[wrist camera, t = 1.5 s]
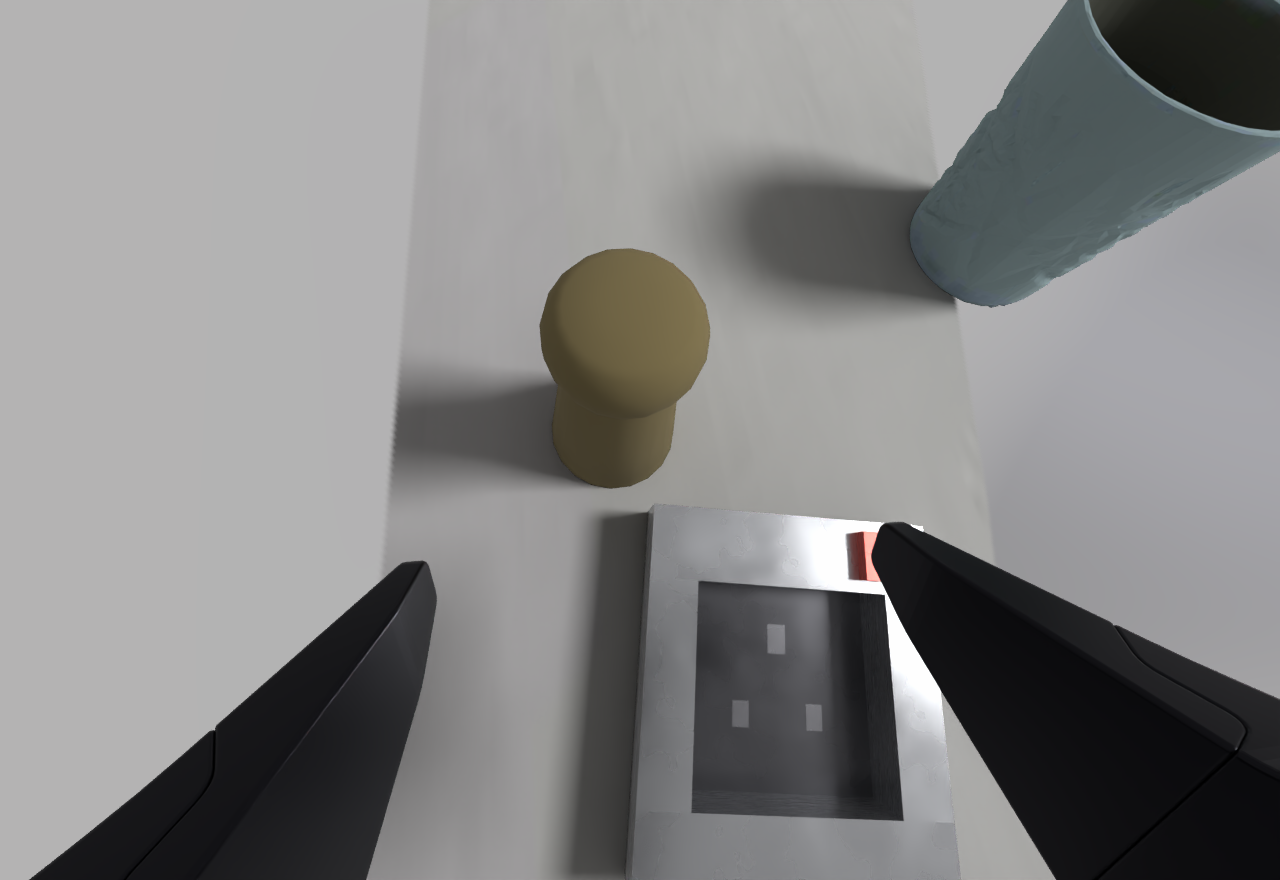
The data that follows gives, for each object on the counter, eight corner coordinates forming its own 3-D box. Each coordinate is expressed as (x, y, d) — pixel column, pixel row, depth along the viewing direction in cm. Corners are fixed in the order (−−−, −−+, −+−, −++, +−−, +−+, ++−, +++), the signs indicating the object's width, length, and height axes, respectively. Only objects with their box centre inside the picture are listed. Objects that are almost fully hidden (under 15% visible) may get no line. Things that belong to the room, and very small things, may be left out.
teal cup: (1077, 301, 29) (1400, 114, 17) (937, 335, 27) (1193, 153, 15) (998, 172, 31) (1233, -66, 20) (865, 195, 29) (1039, -50, 18)
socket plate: (918, 881, 19) (979, 936, 16) (624, 872, 18) (630, 929, 15) (888, 532, 23) (931, 524, 20) (647, 512, 22) (656, 501, 19)
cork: (528, 411, 23) (475, 271, 13) (628, 353, 25) (655, 183, 14) (595, 513, 22) (598, 450, 12) (696, 445, 23) (780, 335, 13)
